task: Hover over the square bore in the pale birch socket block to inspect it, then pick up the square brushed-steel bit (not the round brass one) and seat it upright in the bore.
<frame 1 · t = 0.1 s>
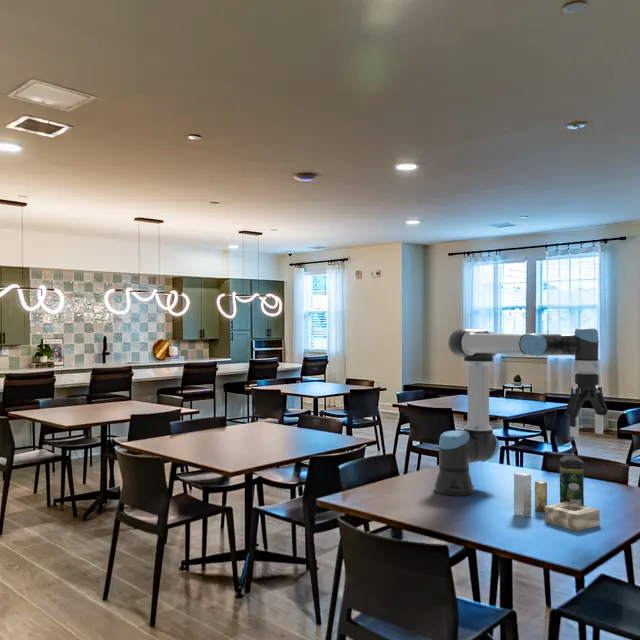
hand: (586, 435, 211), 28 cm above the table, fingers open, 13 cm apart
coffee jar: (571, 509, 221), on the table
round bit: (540, 510, 217), on the table
square bit: (522, 515, 212), on the table
socket block: (572, 523, 203), on the table
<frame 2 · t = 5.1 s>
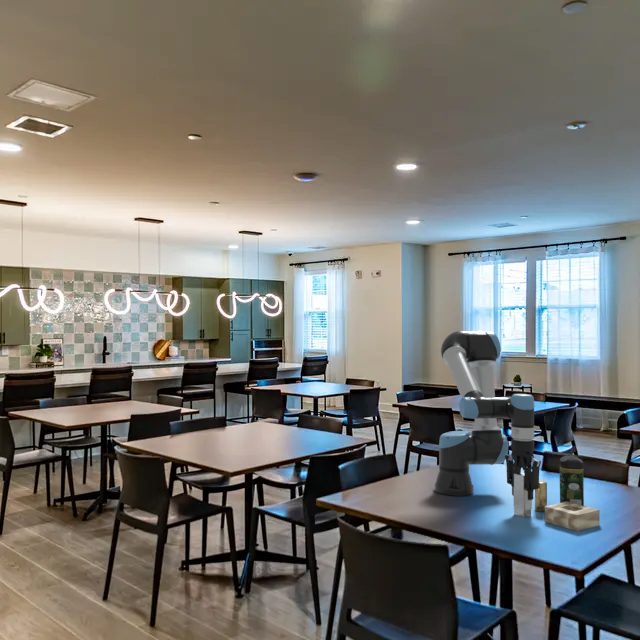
hand: (522, 507, 212), 3 cm above the table, fingers closed on square bit, 4 cm apart
square bit: (522, 515, 212), on the table, touching gripper
everything else where it was.
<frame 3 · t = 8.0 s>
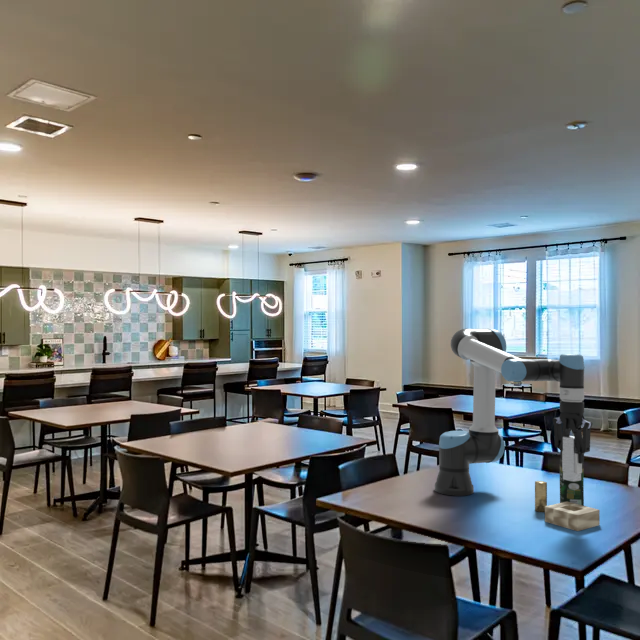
hand: (572, 471, 203), 17 cm above the table, fingers closed on square bit, 4 cm apart
square bit: (572, 479, 203), point 14 cm above the table, touching gripper
everything else where it was.
when the fingers open (6 cm above the table, at t = 11.1 s): square bit drops 2 cm, resting on socket block.
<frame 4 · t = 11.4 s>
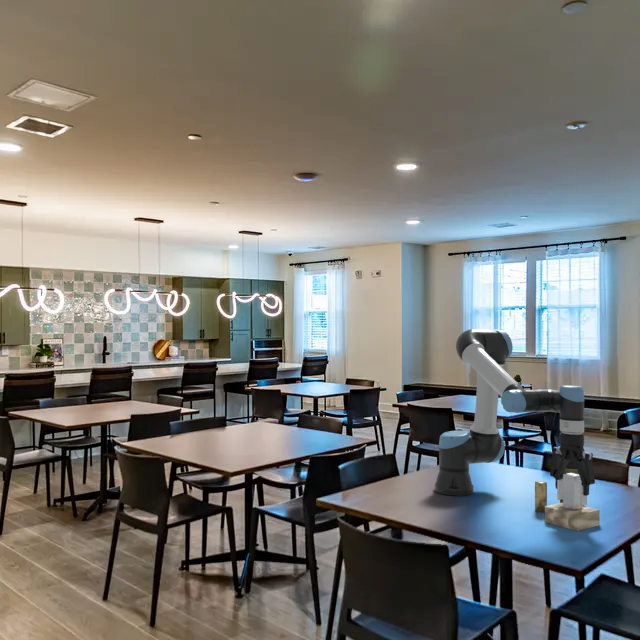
hand: (571, 502, 203), 7 cm above the table, fingers open, 8 cm apart
square bit: (571, 517, 203), point 2 cm above the table, touching socket block
everything else where it was.
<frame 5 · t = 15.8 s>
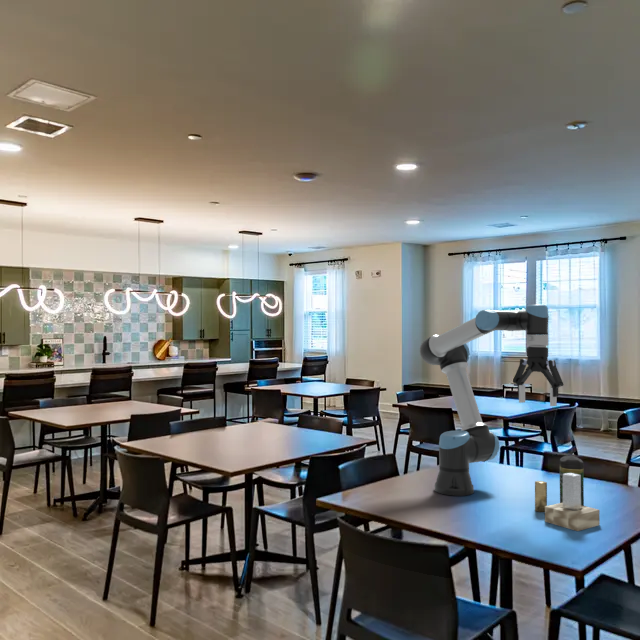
hand: (537, 404, 227), 37 cm above the table, fingers open, 13 cm apart
nothing on the table moved.
at the end: square bit 0.1 cm off-centre on the socket block, point 2.0 cm above the socket block's base; square bit tilted 0°; the gripper is holding nothing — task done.
